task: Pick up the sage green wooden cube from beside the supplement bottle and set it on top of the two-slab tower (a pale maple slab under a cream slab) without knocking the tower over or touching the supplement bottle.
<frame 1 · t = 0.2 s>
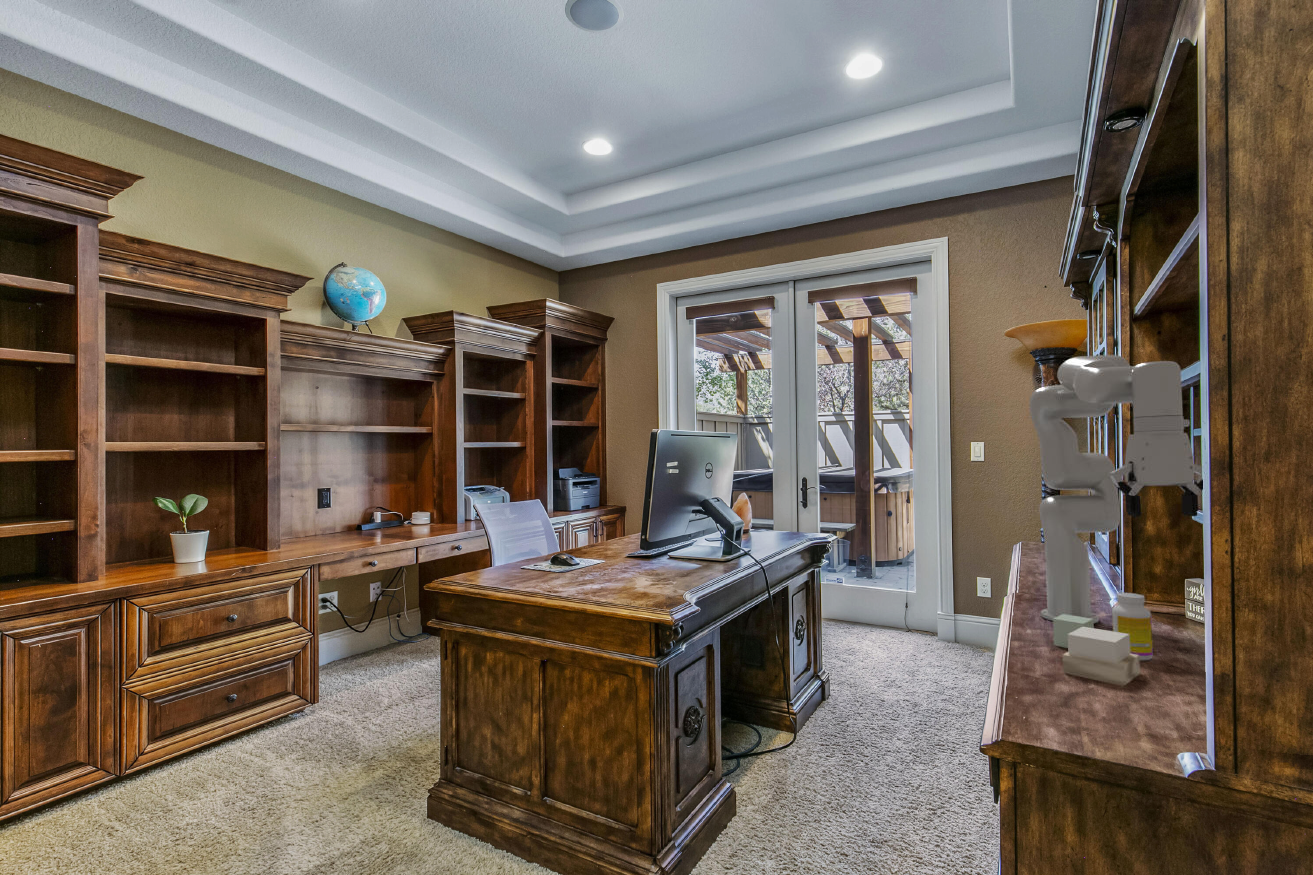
hand: (1161, 515, 124), 31 cm above the table, tool pointing down, fingers open, 9 cm apart
tower base block: (1101, 675, 127), on the table, touching tower top block
stack block: (1074, 645, 144), on the table
tower top block: (1099, 654, 127), point 4 cm above the table, touching tower base block
supplement bottle: (1133, 657, 136), on the table
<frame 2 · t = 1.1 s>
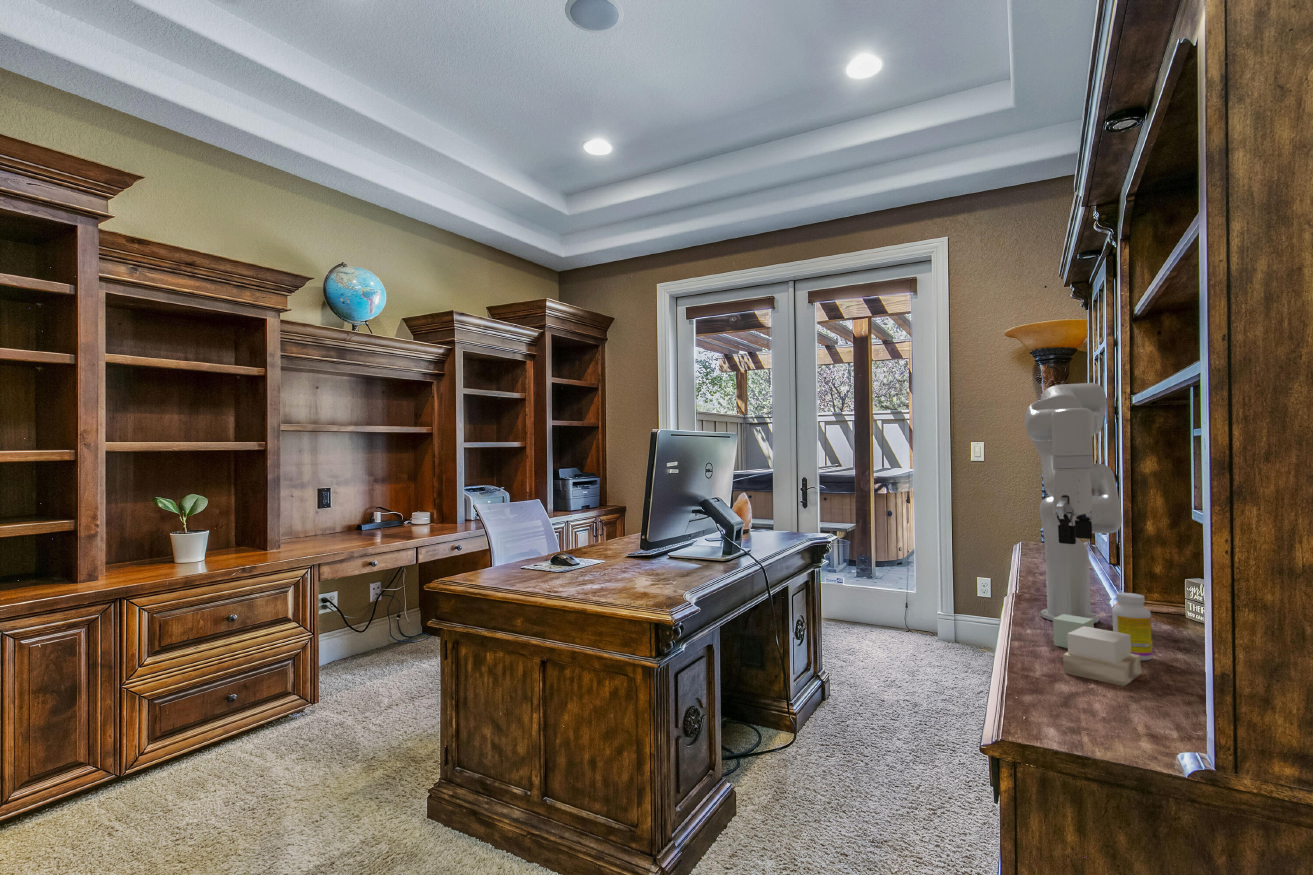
hand: (1075, 540, 144), 23 cm above the table, tool pointing down, fingers open, 9 cm apart
tower base block: (1102, 675, 127), on the table
tower top block: (1099, 654, 127), point 4 cm above the table
everything else where it was.
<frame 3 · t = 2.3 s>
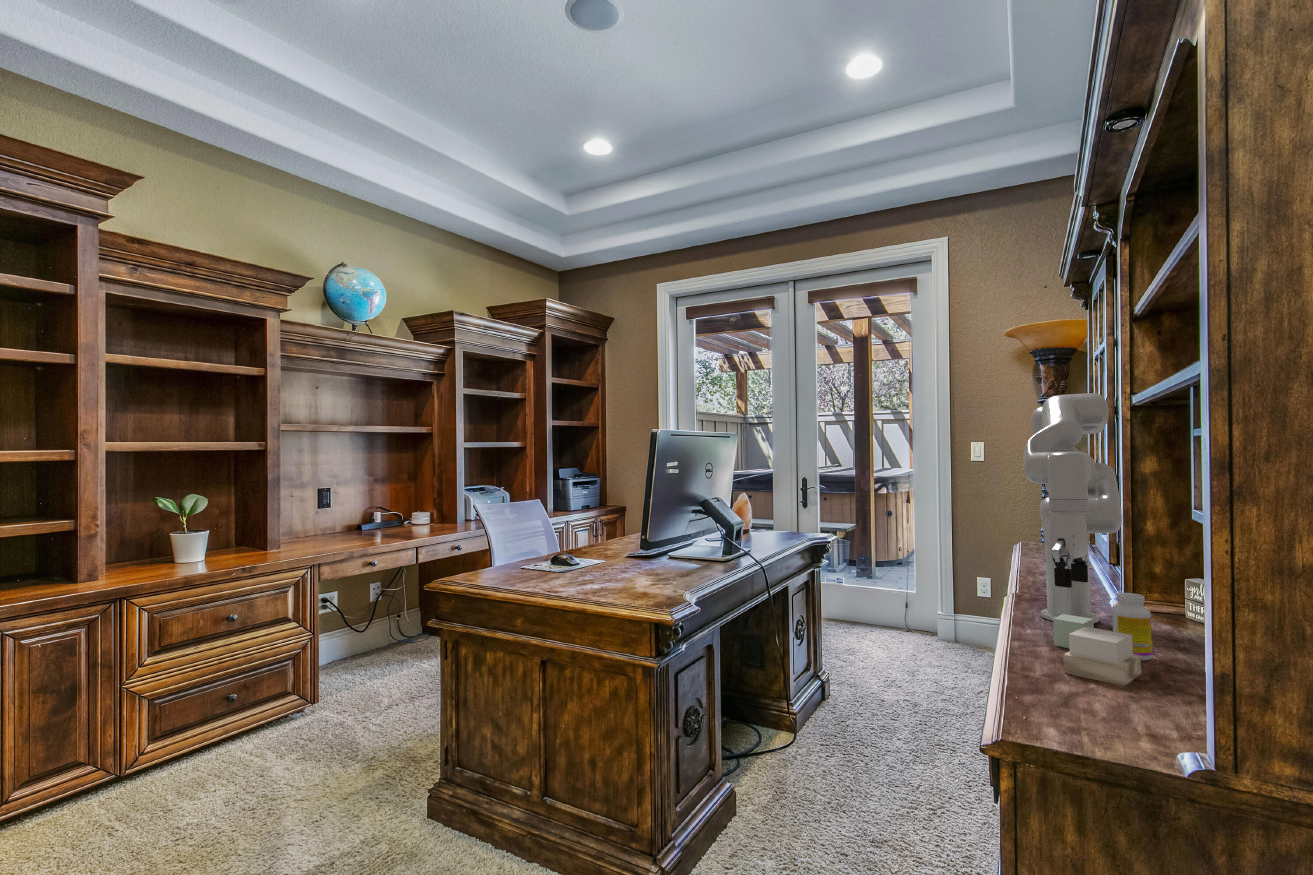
hand: (1071, 584, 144), 14 cm above the table, tool pointing down, fingers open, 9 cm apart
tower base block: (1102, 675, 127), on the table, touching tower top block
tower top block: (1101, 654, 127), point 3 cm above the table, touching tower base block
everything else where it was.
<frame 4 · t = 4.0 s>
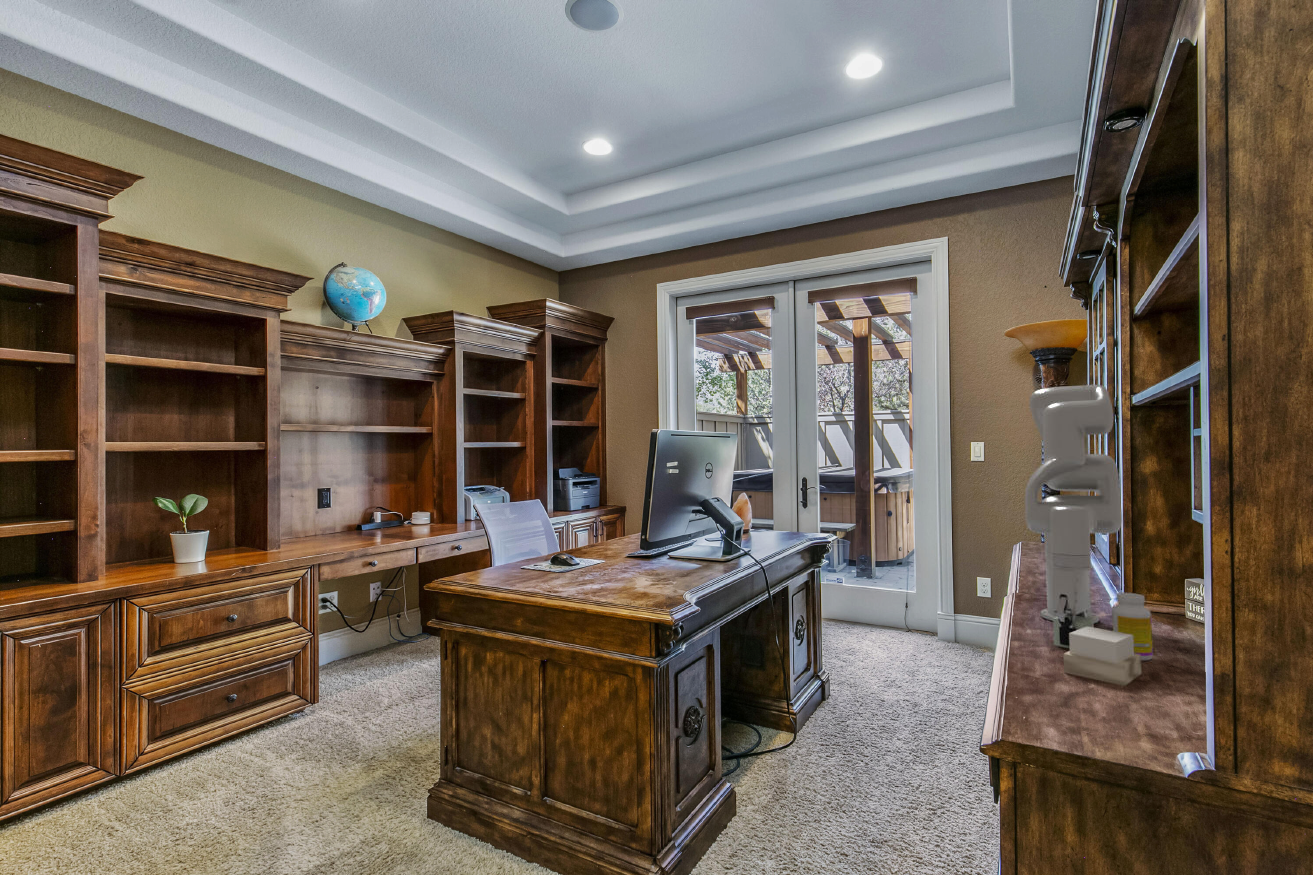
hand: (1074, 641, 144), 1 cm above the table, tool pointing down, fingers closed on stack block, 6 cm apart
stack block: (1074, 645, 144), on the table, touching gripper
everything else where it was.
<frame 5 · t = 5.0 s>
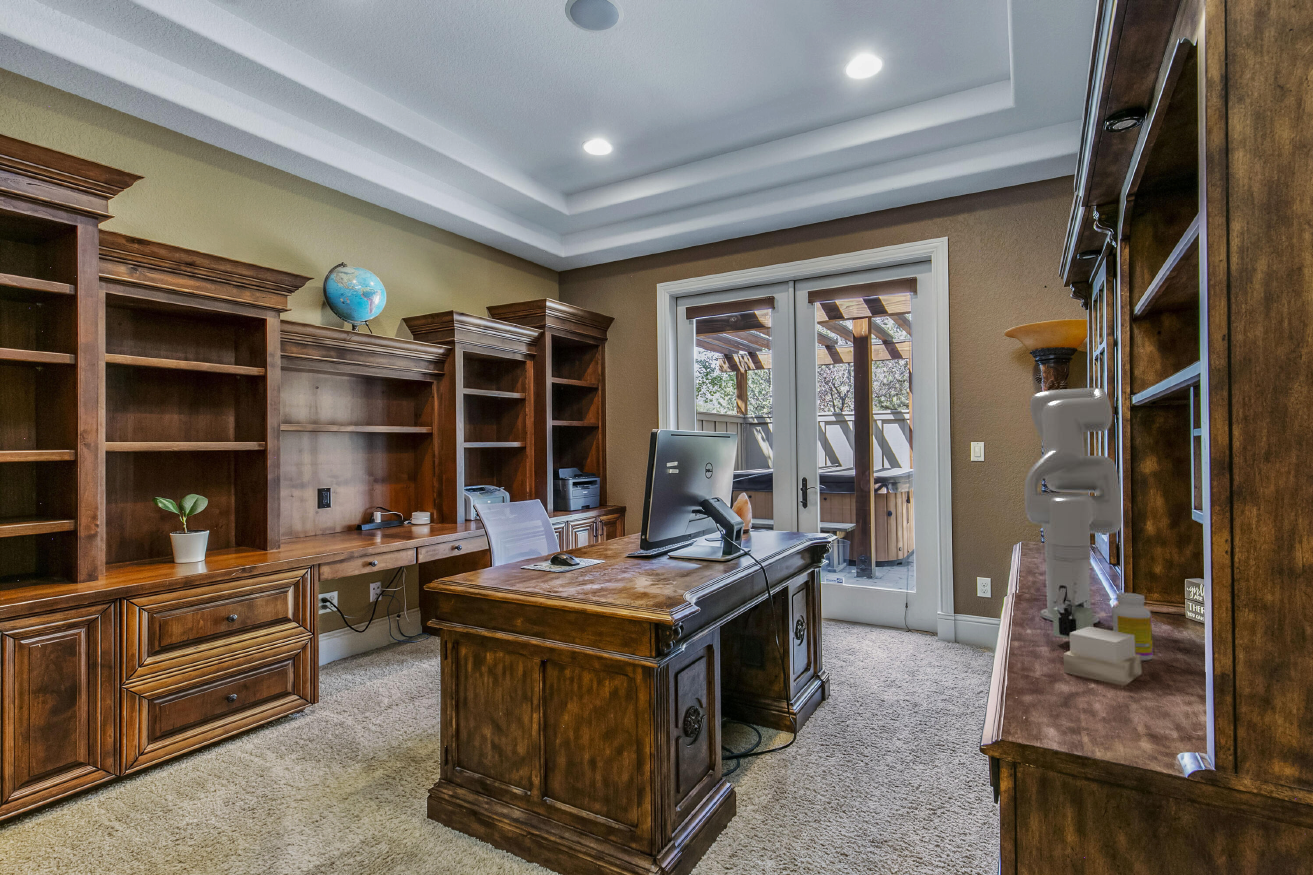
hand: (1073, 631, 145), 3 cm above the table, tool pointing down, fingers closed on stack block, 6 cm apart
stack block: (1073, 635, 145), point 2 cm above the table, touching gripper
everything else where it was.
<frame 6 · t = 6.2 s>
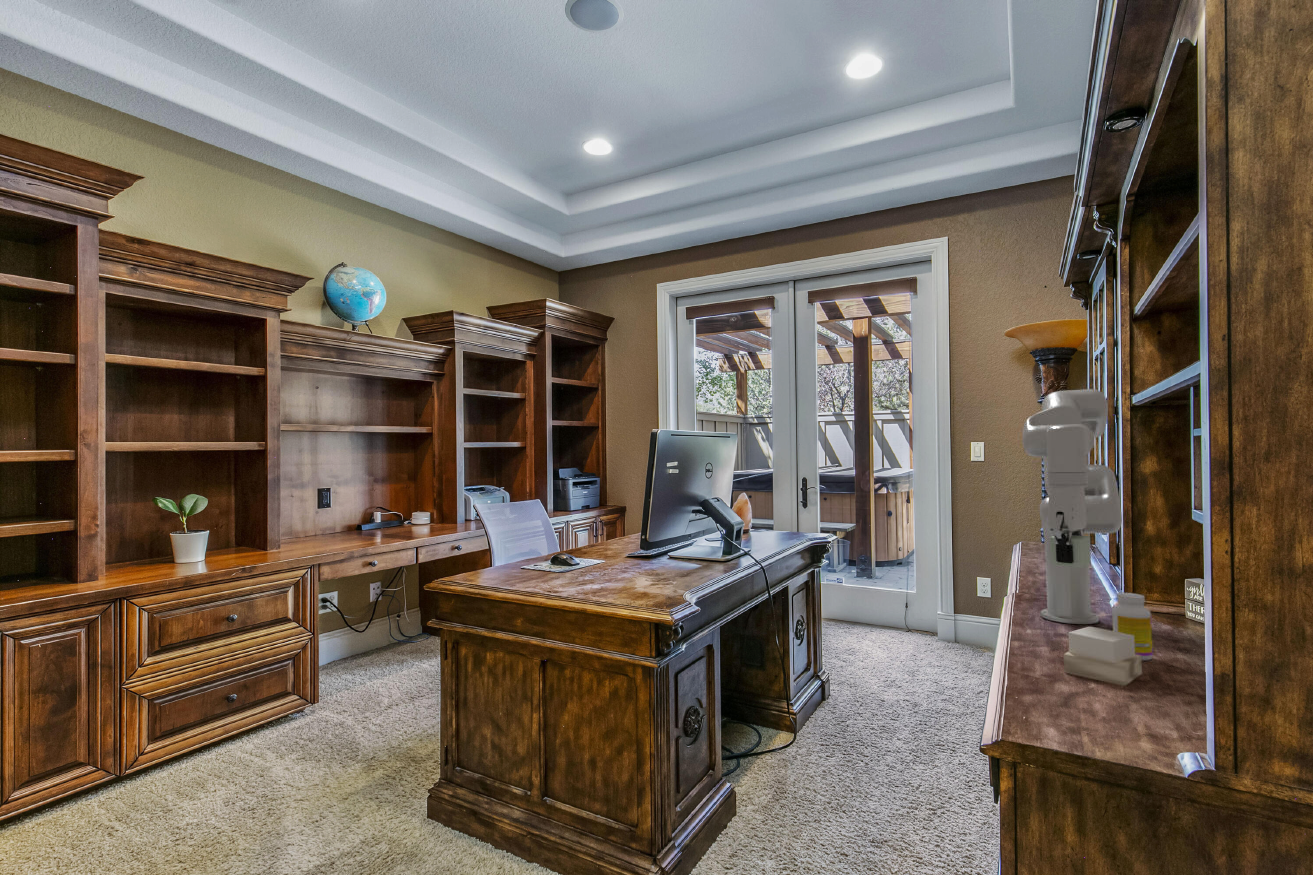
hand: (1070, 559, 145), 19 cm above the table, tool pointing down, fingers closed on stack block, 6 cm apart
stack block: (1070, 563, 145), point 18 cm above the table, touching gripper
everything else where it was.
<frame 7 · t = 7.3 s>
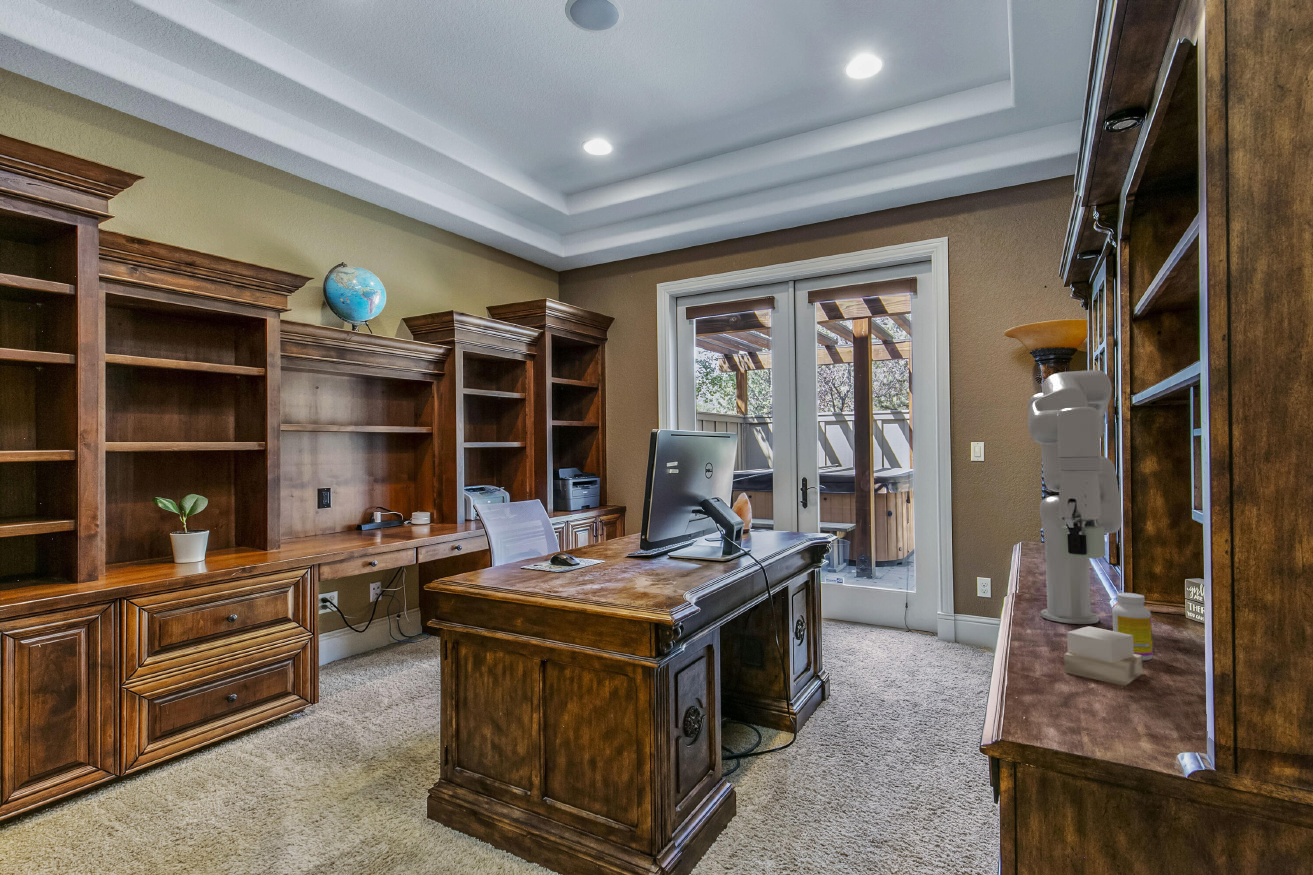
hand: (1083, 551, 135), 22 cm above the table, tool pointing down, fingers closed on stack block, 6 cm apart
tower base block: (1103, 675, 127), on the table
stack block: (1083, 555, 135), point 21 cm above the table, touching gripper
tower top block: (1100, 654, 127), point 4 cm above the table
everything else where it was.
when the fingers open (10 cm above the table, at t = 10.3 s): stack block drops 1 cm, resting on tower top block.
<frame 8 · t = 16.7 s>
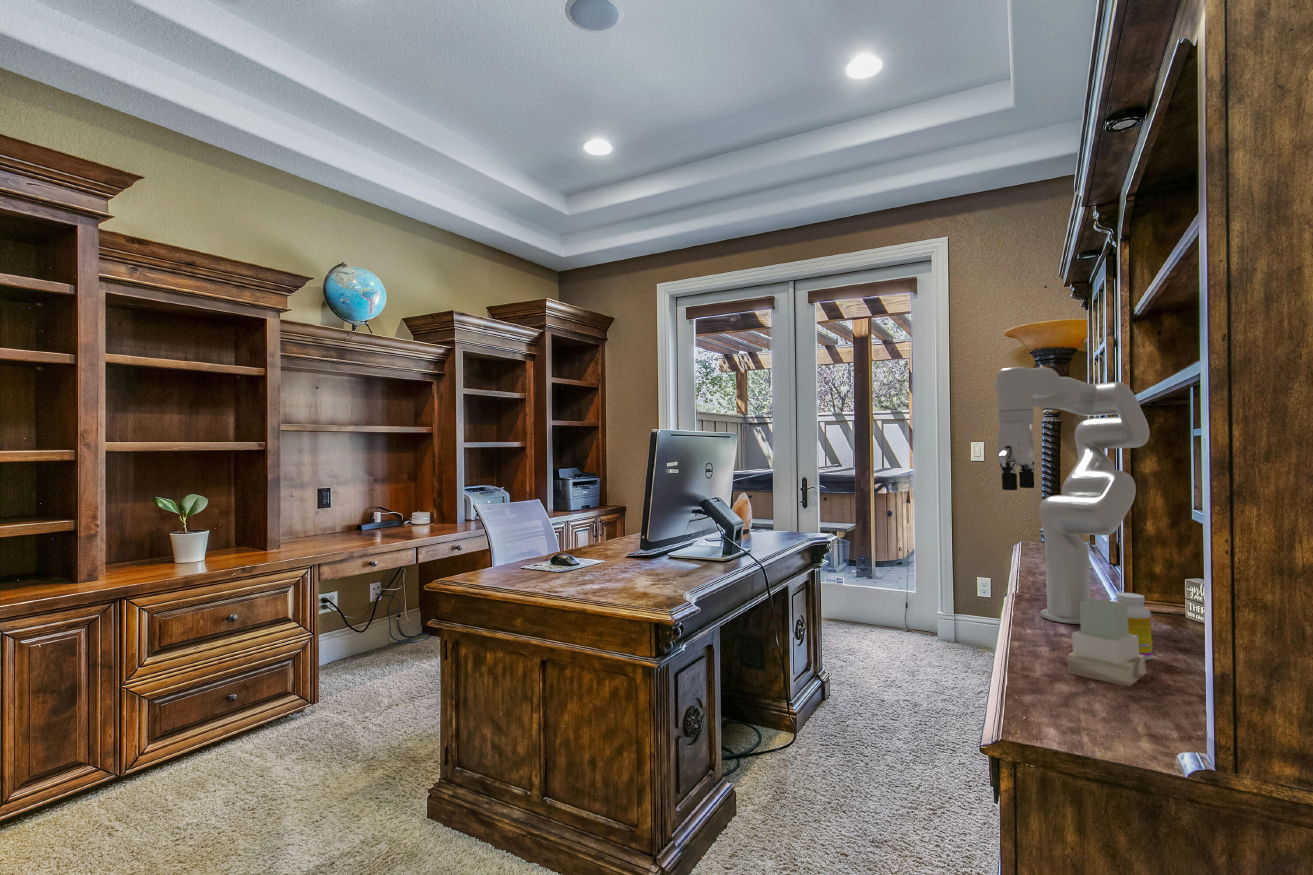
hand: (1018, 488, 157), 34 cm above the table, tool pointing down, fingers open, 9 cm apart
tower base block: (1107, 675, 126), on the table, touching tower top block
stack block: (1104, 633, 127), point 8 cm above the table, touching tower top block
tower top block: (1105, 655, 126), point 4 cm above the table, touching stack block, tower base block
everything else where it was.
at the end: stack block 0.4 cm off-centre on the tower top block, point 4.0 cm above the tower top block's base; tower top block 1.0 cm from the target spot, point 3.5 cm above the table; stack block tilted 0° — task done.
